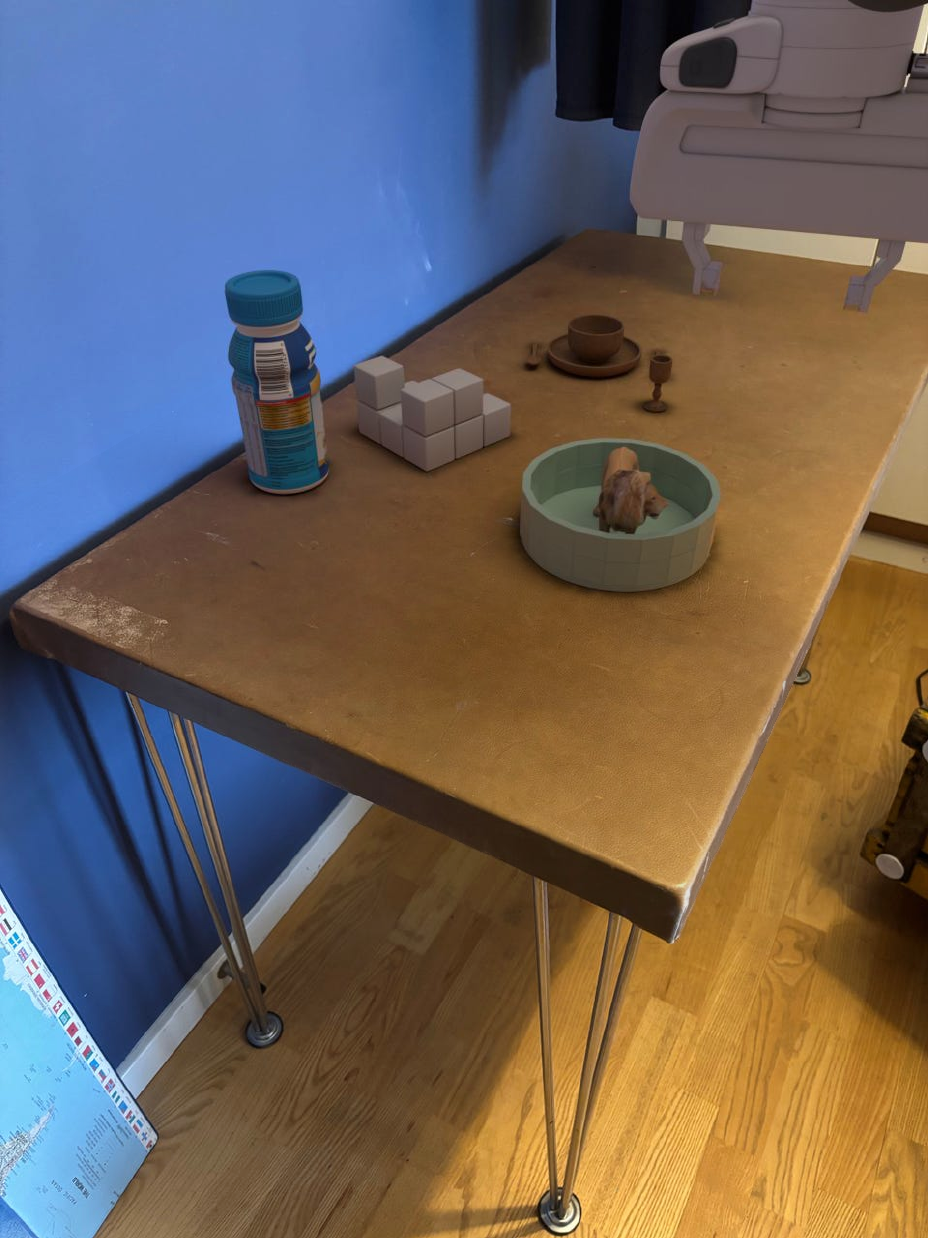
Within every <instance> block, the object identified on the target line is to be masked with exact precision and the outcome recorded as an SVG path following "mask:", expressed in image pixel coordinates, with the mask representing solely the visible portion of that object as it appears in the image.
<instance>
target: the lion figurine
mask: <svg viewBox="0 0 928 1238" xmlns="http://www.w3.org/2000/svg"><path fill="white" fill-rule="evenodd" d="M650 475H651V474H650V473H647V472H640V471H639V466H638V458H637V455H636V453H635V452H634V451H632V450H630V449H628V448H627V447H621V448H618V449H615V450H614V451H612V452H611V453H610V455H609V456H608V458H607V459H606V461H605V465H604V470H603V474H602V482H601V488H602V489H601V493H600V496H599V503H598V505H597V506H596V508H595V509H594V510H593V514H594V515H595V516H600V517H599V531H602V532H607V533H610V528H612V529H613V530H614V531H616V532H617V531H620V532H625V534H635V532H636V530H637V527H638V526H641V525H642V524H643V523H644V522H645V520H646V516H649V517H651V518H652V519H657V518H658V517H659V514H660V513H661V512H662V511H663V510H664V509H665V507H666V506H668V504H669V502H668V501H667V500H666V499H664V498H663V497H662V496H661V495H659V494H658V492H657V489H656V488H655V487H654V486H653V485H651V477H650Z"/></svg>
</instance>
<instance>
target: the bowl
mask: <svg viewBox="0 0 928 1238" xmlns="http://www.w3.org/2000/svg"><path fill="white" fill-rule="evenodd" d="M621 447H627V448H628V449H630V450H632V451H634V452H635V453H636V455H637V458H638V466H639V471H640V472H647V473H650V474H651V475H650V477H651V485H653V486H654V487H655V488H656V489H657V492H658V494H659V495H661V496H662V497H663V498H664V499H666V500H667V501H668V502H669V504H668V506H666V507H665V509H664V510H663V511H662V512H661V513H660V514H659V517H658V518H657V519H652V518H651V517H649V516H646V520H645V522H644V523H643V524H642V525H641V526H638V527H637V530H636V532H635V534H625V532H620V531H617V532H616V531H614V530H613V529H612V528H610V533H607V532H602V531H599V517H600V516H595V515H594V514H593V510H594V509H595V508H596V506H597V505H598V503H599V496H600V493H601V489H602V488H601V482H602V474H603V470H604V465H605V461H606V459H607V458H608V456H609V455H610V453H611V452H612V451H614V450H615V449H618V448H621ZM520 492H521V494H520V517H519V519H520V521H519V536H520V542H521V544H522V546H523V549H524V550H525V552H526V554H527V555H528V556H529V558H531V560H532V561H533V562H534V563H535V564H537V566H539V567H540V568H542V569H543V570H544V571H546V572H548V573H549V574H551V575H553V576H554V577H557V578H559V579H561V580H563V581H565V582H568V583H571V584H573V585H578V586H580V587H584V588H588V589H593V590H599V591H606V592H619V593H620V592H621V593H631V592H645V591H653V590H658V589H662V588H666V587H670V586H673V585H676V584H678V583H680V582H682V581H684V580H686V579H688V578H690V577H691V576H693V575H694V574H696V572H698V571H699V570H700V569H701V568H702V567H703V566H704V565H705V563H706V562H707V560H708V558H709V556H710V552H711V550H712V549H711V548H712V545H713V543H714V538H715V535H716V529H717V524H718V517H719V513H720V507H721V502H722V497H723V496H722V493H721V488H720V484H719V480H718V478H716V476H715V475H714V474H713V473H712V472H711V471H710V469H708V467H707V466H706V465H705V464H703V463H701V462H700V461H699V460H697V459H695V458H693V457H691V456H690V455H688V454H687V453H685V452H682V451H680V450H676V449H674V448H671V447H669V446H665V445H663V444H659V443H656V442H652V441H651V442H650V441H644V440H639V439H634V438H616V437H615V438H613V437H598V438H590V439H582V440H575V441H570V442H567V443H564V444H561V445H557V446H554V447H550V448H549V449H547V450H546V451H545V452H543V453H540V455H538V456H536V457H535V458H533V459H532V460H531V462H530V463H529V464H528V466H527V467H526V468H525V470H523V473H522V477H521V491H520Z"/></svg>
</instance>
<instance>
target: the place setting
mask: <svg viewBox="0 0 928 1238" xmlns="http://www.w3.org/2000/svg"><path fill="white" fill-rule="evenodd" d="M567 325H568V327H567V333H563V334H559V335H558V336H556V337H554V338H552V339H551V340H550V341H549V342H548V343H547V347H546V352H547V357H548V358H549V361H551V364H553V365H554V366H555V367H557V368H559V369H560V370H563V371H564V372H567V373H569V374H572V375H576V376H580V377H587V378H606V377H612V376H617V375H621V374H623V373H626V372H628V371H630V370H631V369H634V367H636V366H637V365H638V364H639V362H640V361H641V358H642V354H643V350H642V346H641V345H640V344H639V342H637V341H636V340H634V339H632V338H630V337H628V336H625V335H624V334H625V323H624V322H623V321H622V320H621V319H619V318H617V317H613V316H611V315H605V314H583V315H578V316H576V317H573V318H572V319H570V320H569V322H568V324H567ZM531 348H532V349H531V350H532V352H531V355H529V356H528V357H526V359H525V362H526V364H528V365H529V366H535V367H536V366H537V365H539V364H540V363H541V361H542V359H541V357H539V356H538V355H537V350H538V343H537V342H533V343H532V347H531ZM672 367H673V357H672V356H669V355H667V354H661V353H660V350H656V351H655V354H653V355H652V356H651V357H650V359H649V370H648V376H649V380H650V382H652V383H654V388H653V391H652V393H651V396H652V400H646V401H645V402H644V403H643V404H642V407H643V409H644V410H645V411H647V412H650V413H663V412H665V411H667V410H668V407H669V406H668V404H667V403H666V402H665V401H662V400H660V399H661V398H662V395H663V393H662V386H663V384H665V383H667V382H668V380H669V379H670V376H671V373H672Z"/></svg>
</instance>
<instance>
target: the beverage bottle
mask: <svg viewBox="0 0 928 1238" xmlns="http://www.w3.org/2000/svg"><path fill="white" fill-rule="evenodd" d="M224 295H225V302H226V306H227V311H228V315H229V318H230V321H231V322H232V324H233V325H235V326H236V327H235V329H234V332H233V334H232V336H231V339H230V341H229V344H228V345H229V346H228V353H227V358H228V359H227V360H228V363H229V365H230V366H231V367H232V369H233V372H232V374H231V379H230V381H231V389H232V392H233V395H234V397H235V402H236V408H237V412H238V417H239V422H240V428H241V434H242V439H243V444H244V445H243V446H244V449H245V455H246V461H247V471H248V476H249V479H250V481H251V483H252V484H253V485H254V486H255V487H256V488H258V489H259V490H262V491H263V492H267V493H271V494H276V495H291V494H296V493H297V494H299V493H302V492H306V491H309V490H312V489H314V488H316V487H317V486H319V485H320V484H322V483H323V482H324V481H325V480H326V478H327V477H328V474H329V472H330V464H329V463H330V462H329V457H328V449H327V440H326V431H325V423H324V422H325V421H324V412H323V402H322V394H321V386H322V385H321V384H322V380H321V379H322V378H321V373H320V370H319V368H318V367H317V365H316V364H315V359H316V356H317V348H316V346H315V342H314V340H313V339H312V337H311V334H310V333H309V332H308V330H307V328H306V327H305V326H304V325H303V323H301V321H300V320H301V319H302V317H303V312H304V306H303V296H302V295H303V294H302V289H301V284H300V281H299V278H298V277H297V275H294V274H293V273H291V272H287V271H283V270H275V269H261V270H252V271H246V272H242V273H239V274H235V275H234V276H232V277H231V278H228V280H227V281H226V282H225V285H224Z"/></svg>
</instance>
